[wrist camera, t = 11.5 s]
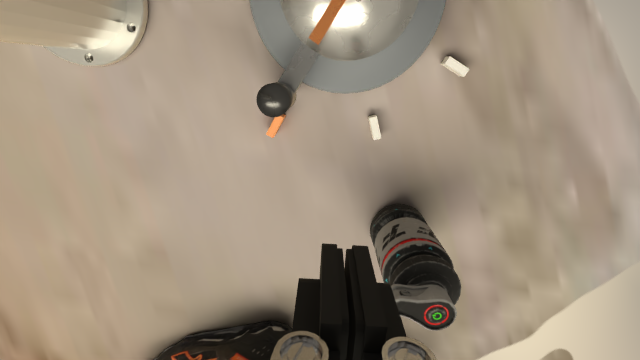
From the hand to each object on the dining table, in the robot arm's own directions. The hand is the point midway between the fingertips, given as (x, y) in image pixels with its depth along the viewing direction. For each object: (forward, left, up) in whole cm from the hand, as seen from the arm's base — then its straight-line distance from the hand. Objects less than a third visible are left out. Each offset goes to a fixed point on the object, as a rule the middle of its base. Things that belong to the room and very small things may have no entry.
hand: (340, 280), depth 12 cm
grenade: (+12, -5, -25) cm, 28 cm away
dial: (-6, +10, -23) cm, 26 cm away
